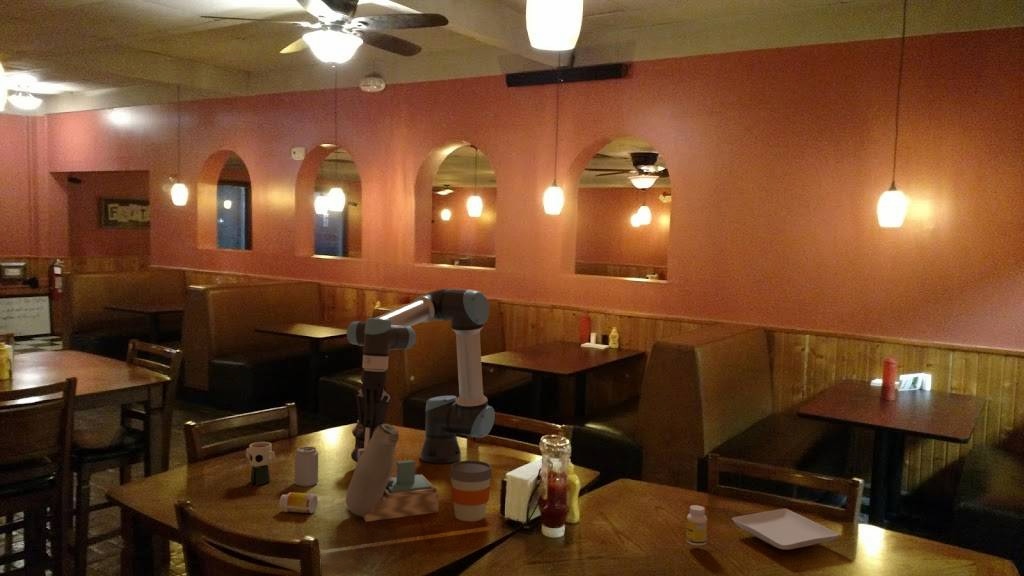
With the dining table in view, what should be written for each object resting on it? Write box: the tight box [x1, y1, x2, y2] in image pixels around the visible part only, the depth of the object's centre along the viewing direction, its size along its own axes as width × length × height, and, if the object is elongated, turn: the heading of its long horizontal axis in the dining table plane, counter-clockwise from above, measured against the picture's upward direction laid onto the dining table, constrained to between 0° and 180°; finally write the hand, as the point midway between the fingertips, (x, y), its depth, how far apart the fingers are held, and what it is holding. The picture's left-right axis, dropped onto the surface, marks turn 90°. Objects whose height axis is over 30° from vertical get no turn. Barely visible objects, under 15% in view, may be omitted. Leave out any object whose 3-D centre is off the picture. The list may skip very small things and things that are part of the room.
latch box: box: [361, 473, 440, 522], centre depth 226 cm, size 22×16×7 cm
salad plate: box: [731, 508, 840, 551], centre depth 212 cm, size 21×21×3 cm
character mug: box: [245, 441, 276, 486], centre depth 245 cm, size 11×7×13 cm, turn 72°
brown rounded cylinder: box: [345, 423, 400, 517], centre depth 217 cm, size 10×10×28 cm
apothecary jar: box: [350, 420, 365, 471], centre depth 261 cm, size 12×12×18 cm
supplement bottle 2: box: [685, 504, 708, 546], centre depth 206 cm, size 5×5×10 cm
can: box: [294, 446, 319, 488], centre depth 245 cm, size 8×8×12 cm
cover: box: [386, 459, 430, 493], centre depth 227 cm, size 12×12×8 cm
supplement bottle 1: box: [279, 491, 319, 514], centre depth 221 cm, size 6×6×10 cm
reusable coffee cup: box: [449, 459, 493, 522], centre depth 221 cm, size 13×12×15 cm
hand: (368, 449), depth 220 cm, fingers closed
